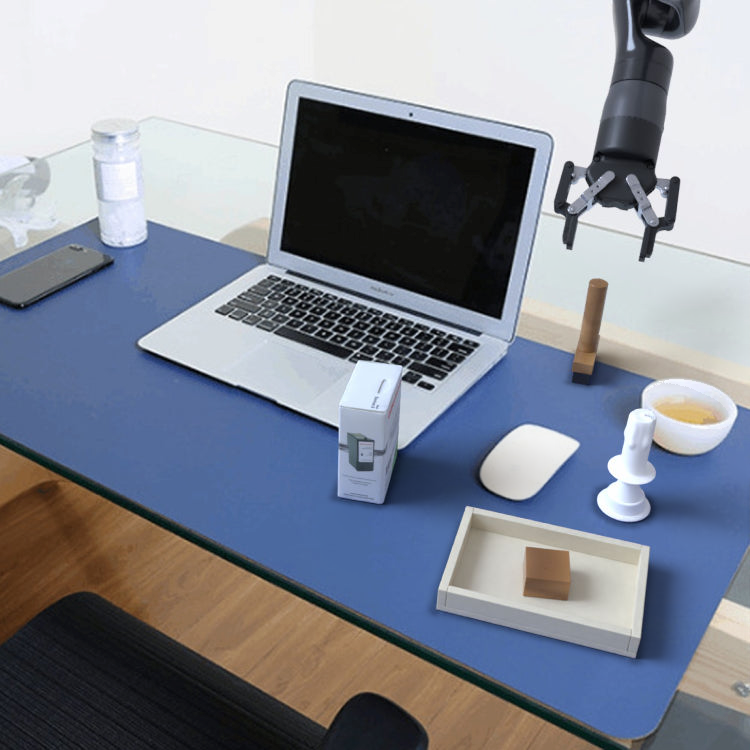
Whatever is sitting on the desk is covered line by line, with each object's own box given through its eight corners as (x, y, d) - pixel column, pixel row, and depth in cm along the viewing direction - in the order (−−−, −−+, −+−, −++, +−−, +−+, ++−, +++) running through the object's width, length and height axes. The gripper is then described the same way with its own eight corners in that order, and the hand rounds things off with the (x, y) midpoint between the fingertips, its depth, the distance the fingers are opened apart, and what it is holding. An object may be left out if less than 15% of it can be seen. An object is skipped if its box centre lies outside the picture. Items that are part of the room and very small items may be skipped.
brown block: (565, 569, 94) (569, 550, 92) (567, 601, 90) (571, 582, 89) (522, 564, 94) (525, 546, 93) (522, 596, 91) (525, 577, 89)
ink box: (354, 446, 109) (357, 355, 102) (399, 453, 108) (404, 362, 101) (335, 498, 102) (337, 404, 95) (383, 506, 101) (388, 411, 94)
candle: (661, 513, 101) (685, 418, 95) (619, 528, 99) (641, 433, 92) (627, 482, 105) (648, 388, 98) (586, 496, 103) (605, 402, 96)
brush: (596, 355, 126) (612, 270, 119) (589, 386, 120) (606, 299, 113) (577, 351, 126) (592, 267, 119) (569, 382, 120) (584, 295, 114)
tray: (645, 566, 95) (650, 546, 94) (635, 658, 86) (640, 638, 84) (464, 525, 99) (466, 505, 98) (436, 609, 90) (438, 589, 88)
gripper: (572, 105, 119) (544, 233, 117) (695, 121, 116) (670, 253, 113) (571, 133, 126) (546, 254, 124) (687, 149, 123) (663, 273, 121)
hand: (605, 253), depth 119 cm, fingers open, 8 cm apart
